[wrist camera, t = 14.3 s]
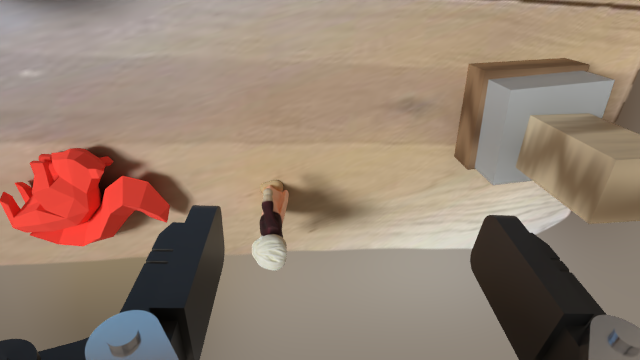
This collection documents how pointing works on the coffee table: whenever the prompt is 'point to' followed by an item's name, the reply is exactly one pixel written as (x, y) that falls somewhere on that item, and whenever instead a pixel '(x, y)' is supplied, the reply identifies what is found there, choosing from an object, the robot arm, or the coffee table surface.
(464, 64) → the coffee table surface
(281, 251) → the grandmother figurine
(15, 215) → the animal figurine
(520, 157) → the oak block
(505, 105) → the tower top
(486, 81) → the tower base
